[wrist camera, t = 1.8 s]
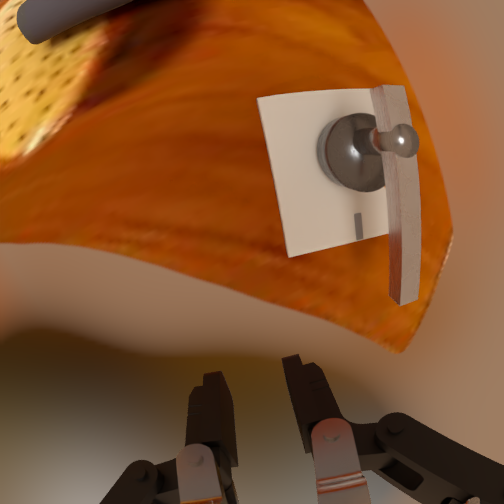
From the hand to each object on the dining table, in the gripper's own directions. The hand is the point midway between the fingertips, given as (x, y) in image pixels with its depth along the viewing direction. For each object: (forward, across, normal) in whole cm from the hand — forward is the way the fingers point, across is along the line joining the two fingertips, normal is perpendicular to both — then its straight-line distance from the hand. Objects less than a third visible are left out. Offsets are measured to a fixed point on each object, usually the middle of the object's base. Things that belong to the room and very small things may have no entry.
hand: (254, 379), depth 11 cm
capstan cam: (+24, -16, -3) cm, 29 cm away
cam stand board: (+25, -15, -5) cm, 30 cm away
